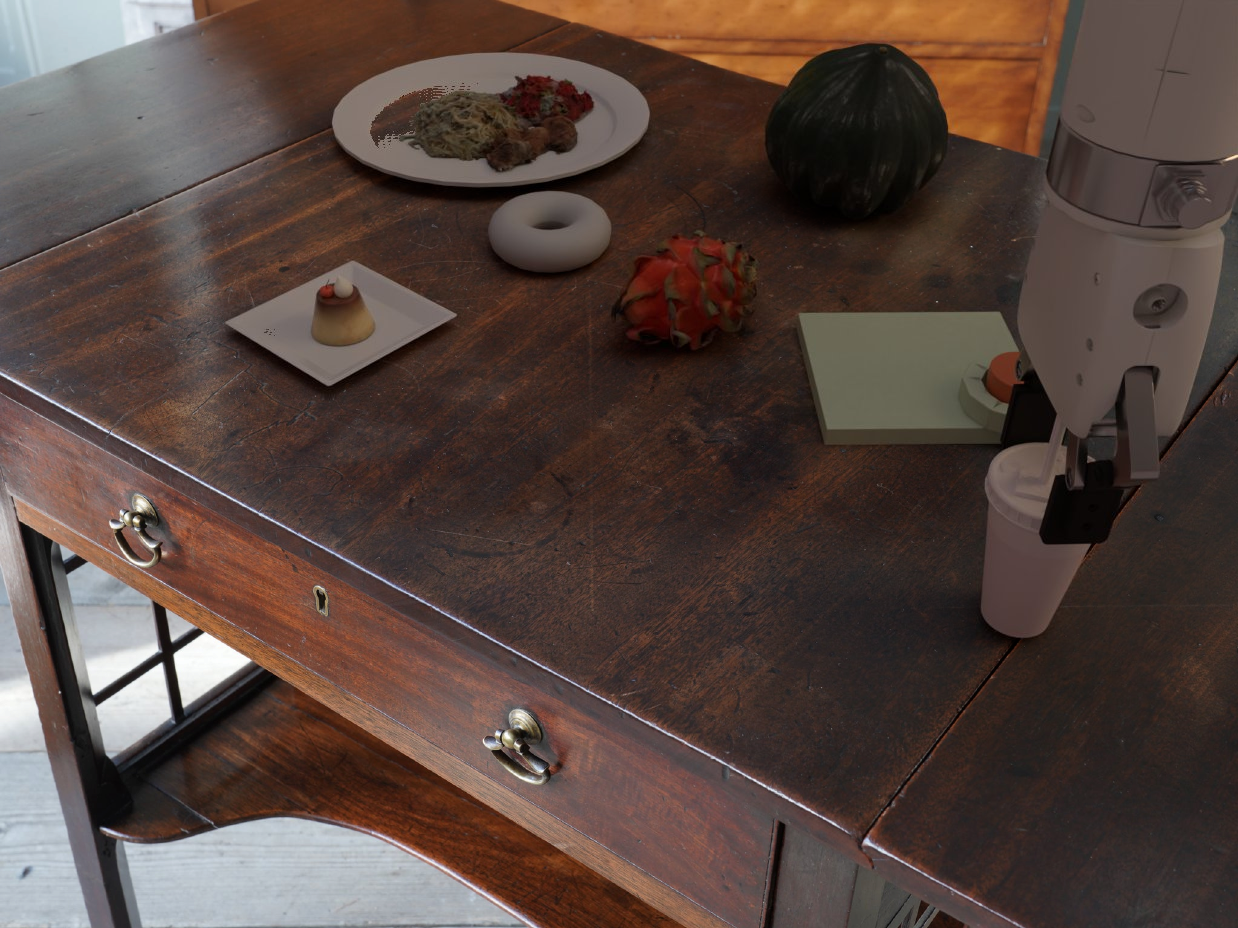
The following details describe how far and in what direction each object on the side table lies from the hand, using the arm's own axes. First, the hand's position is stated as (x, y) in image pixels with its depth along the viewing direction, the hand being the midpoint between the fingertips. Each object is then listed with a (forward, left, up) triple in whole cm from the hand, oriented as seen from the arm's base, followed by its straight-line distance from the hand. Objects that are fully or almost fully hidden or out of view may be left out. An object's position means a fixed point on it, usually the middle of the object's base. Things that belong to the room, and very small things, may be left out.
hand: (1050, 489), depth 62 cm
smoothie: (0, 0, -9) cm, 9 cm away
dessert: (+41, -30, -10) cm, 52 cm away
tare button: (-5, -18, -7) cm, 20 cm away
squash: (0, -51, -10) cm, 52 cm away
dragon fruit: (+16, -29, -10) cm, 35 cm away
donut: (+26, -42, -10) cm, 50 cm away
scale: (0, -23, -10) cm, 25 cm away
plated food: (+32, -65, -10) cm, 73 cm away
